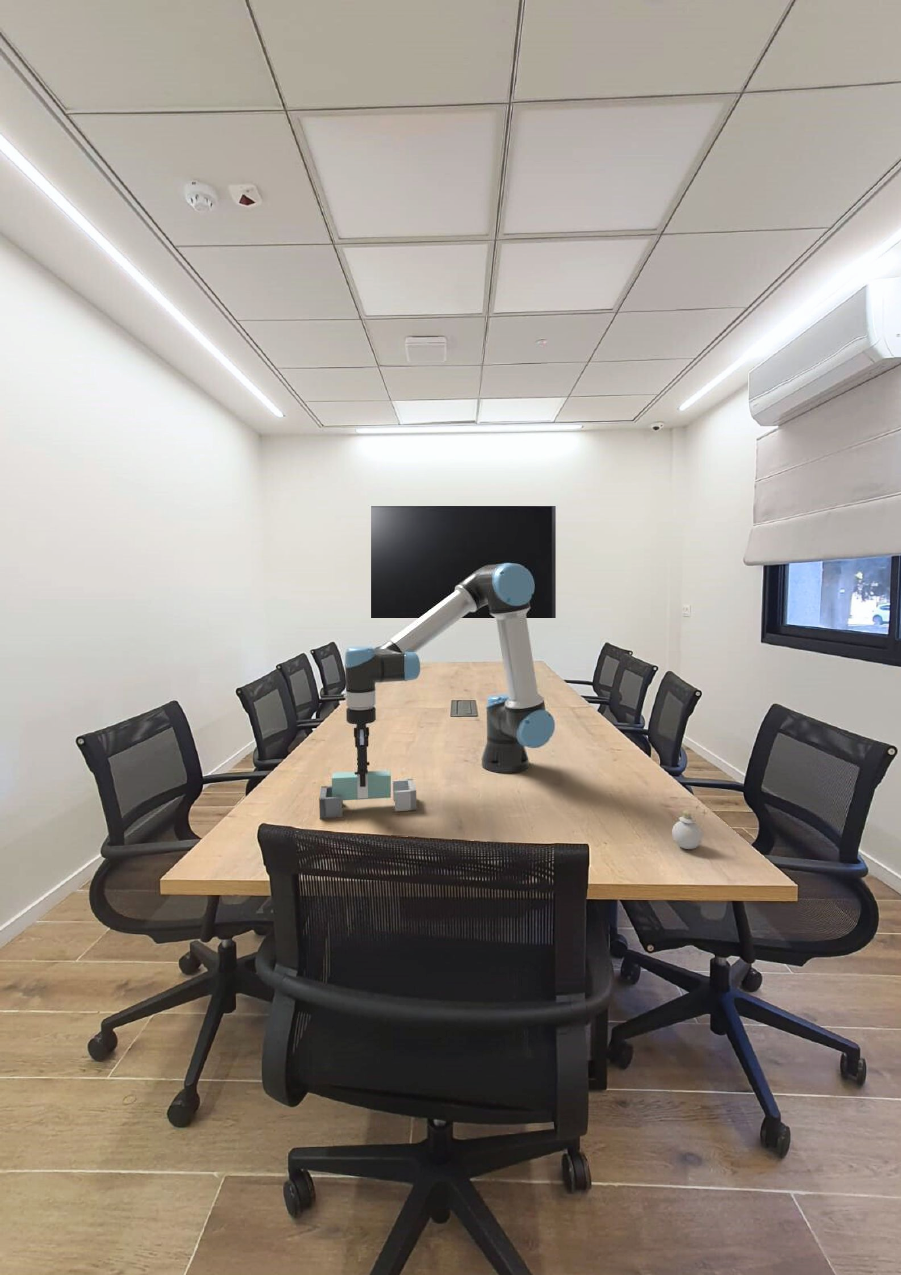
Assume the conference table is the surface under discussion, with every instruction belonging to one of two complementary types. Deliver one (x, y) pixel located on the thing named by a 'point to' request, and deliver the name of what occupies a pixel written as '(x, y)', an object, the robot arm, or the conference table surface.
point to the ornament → (687, 831)
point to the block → (347, 785)
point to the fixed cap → (329, 803)
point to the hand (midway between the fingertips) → (362, 794)
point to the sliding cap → (404, 795)
